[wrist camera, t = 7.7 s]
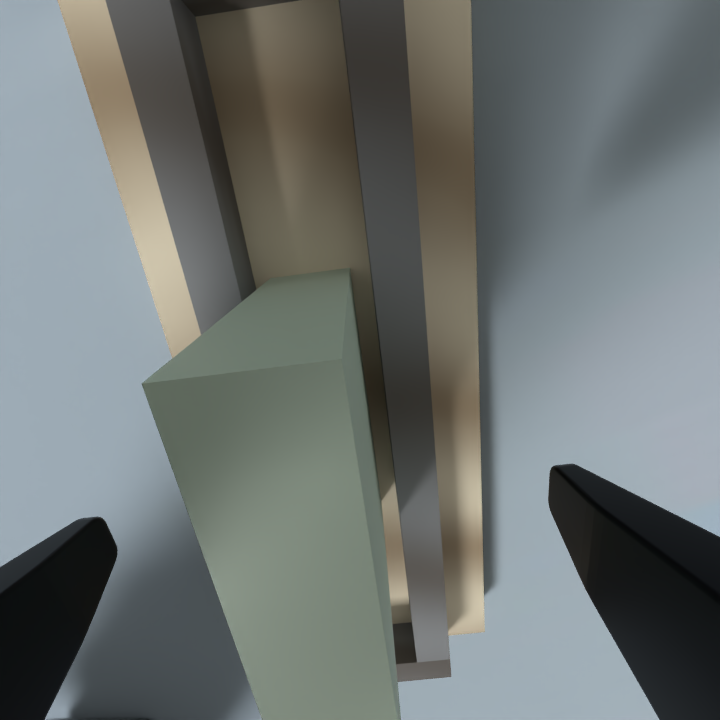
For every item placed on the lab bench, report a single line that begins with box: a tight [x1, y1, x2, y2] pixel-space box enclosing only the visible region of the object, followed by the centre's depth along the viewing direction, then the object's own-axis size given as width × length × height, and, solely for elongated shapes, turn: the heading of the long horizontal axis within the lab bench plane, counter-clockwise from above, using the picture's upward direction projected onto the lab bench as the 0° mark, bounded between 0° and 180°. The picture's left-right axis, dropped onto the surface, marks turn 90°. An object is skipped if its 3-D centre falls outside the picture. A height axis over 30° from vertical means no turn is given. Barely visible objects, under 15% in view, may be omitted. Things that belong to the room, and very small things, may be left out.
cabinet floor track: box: [58, 0, 485, 682], centre depth 12 cm, size 22×9×2 cm, turn 7°
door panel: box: [142, 268, 401, 720], centre depth 9 cm, size 8×2×7 cm, turn 7°
